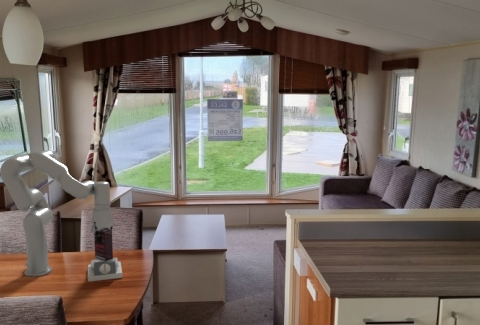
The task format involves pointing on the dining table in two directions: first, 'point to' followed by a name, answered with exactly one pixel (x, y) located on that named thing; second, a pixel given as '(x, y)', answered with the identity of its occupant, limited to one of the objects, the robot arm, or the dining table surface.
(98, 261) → the pan
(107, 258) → the supplement box
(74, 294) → the dining table surface
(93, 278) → the scale base
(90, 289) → the dining table surface
